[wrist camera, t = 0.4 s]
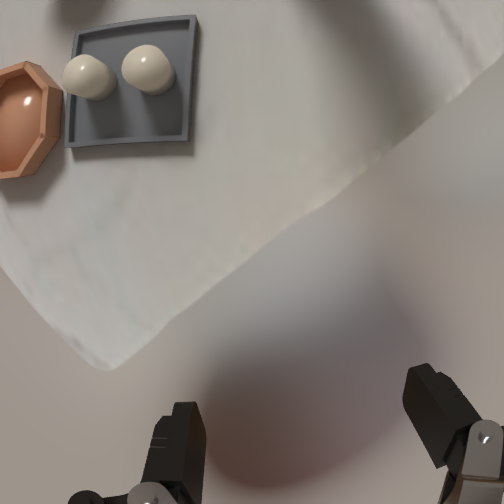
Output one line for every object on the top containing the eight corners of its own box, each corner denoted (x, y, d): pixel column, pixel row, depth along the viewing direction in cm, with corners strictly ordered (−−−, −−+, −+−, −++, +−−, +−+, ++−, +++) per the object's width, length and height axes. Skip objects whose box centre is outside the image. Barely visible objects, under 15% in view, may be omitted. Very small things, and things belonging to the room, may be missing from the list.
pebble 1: (85, 69, 29) (64, 58, 24) (118, 63, 30) (100, 51, 24) (82, 103, 31) (59, 97, 25) (115, 99, 31) (95, 91, 26)
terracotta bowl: (-11, 82, 28) (-26, 79, 25) (66, 59, 29) (53, 52, 26) (-16, 180, 33) (-31, 183, 29) (60, 171, 33) (45, 174, 30)
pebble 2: (139, 61, 30) (123, 47, 24) (177, 58, 30) (166, 42, 25) (136, 97, 31) (119, 88, 26) (174, 94, 31) (163, 84, 26)
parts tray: (80, 35, 28) (75, 31, 27) (197, 19, 29) (195, 14, 27) (70, 147, 33) (64, 148, 31) (189, 141, 33) (187, 140, 32)
